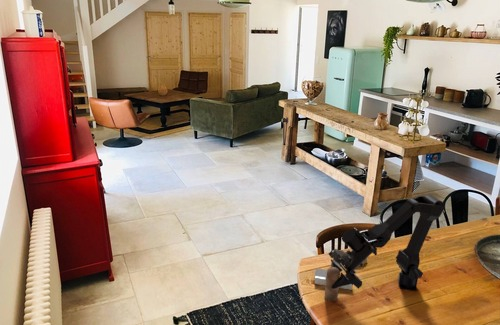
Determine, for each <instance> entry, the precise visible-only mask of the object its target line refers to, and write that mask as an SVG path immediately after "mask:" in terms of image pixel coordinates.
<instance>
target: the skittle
mask: <svg viewBox="0 0 500 325" xmlns="http://www.w3.org/2000/svg"><path fill="white" fill-rule="evenodd" d="M326 270H327V275H326V286H325V285H324V286H325V289H324V299H325V300H326V301H328V302H337V301H338V298H339V297H338V296H339V290H340V288H339V287H338V288H335V289H332V288H331V287H332V285H333V284H334V283H335V282H336V281H337V280H338V279H339V278H340V275H341V272H340V271H339V269H338V268H336V267H331V266H330V267H329V268H328V269H326Z"/></svg>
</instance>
